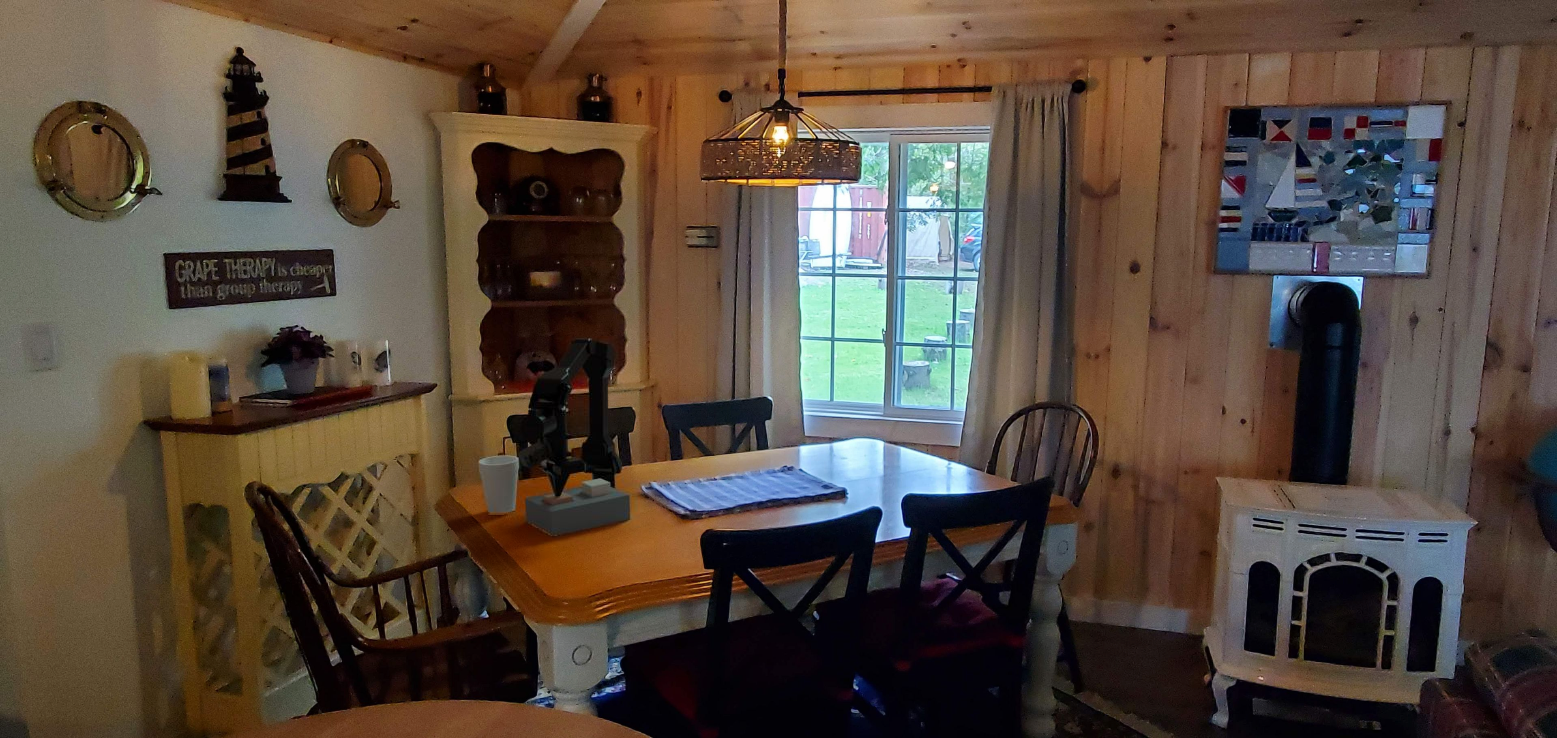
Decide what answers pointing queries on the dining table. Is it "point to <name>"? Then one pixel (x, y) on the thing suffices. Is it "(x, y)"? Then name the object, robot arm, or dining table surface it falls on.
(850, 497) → the dining table surface
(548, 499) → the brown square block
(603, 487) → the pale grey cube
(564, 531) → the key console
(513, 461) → the foam cup
